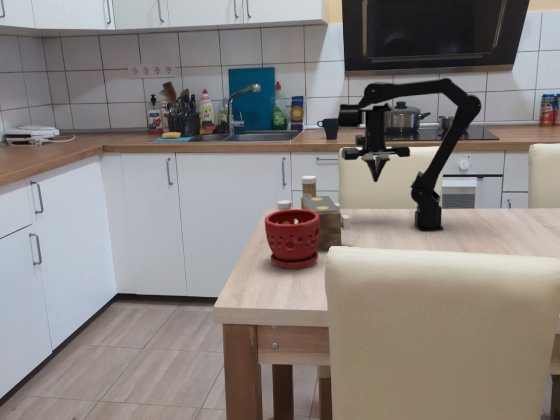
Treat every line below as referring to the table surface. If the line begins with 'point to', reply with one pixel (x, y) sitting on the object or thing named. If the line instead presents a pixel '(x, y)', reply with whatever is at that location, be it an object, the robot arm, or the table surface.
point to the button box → (327, 228)
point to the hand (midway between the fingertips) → (375, 181)
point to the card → (320, 204)
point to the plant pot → (293, 237)
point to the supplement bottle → (284, 208)
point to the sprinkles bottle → (309, 186)
